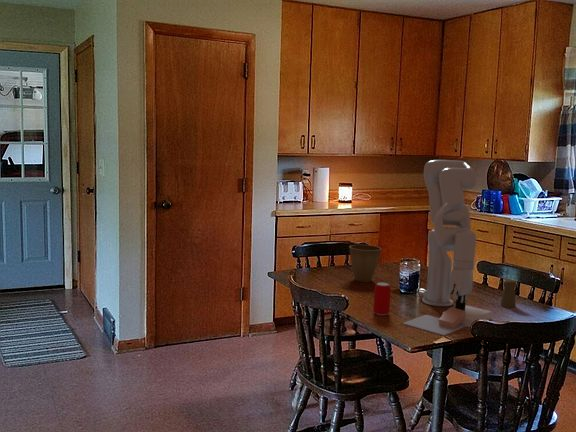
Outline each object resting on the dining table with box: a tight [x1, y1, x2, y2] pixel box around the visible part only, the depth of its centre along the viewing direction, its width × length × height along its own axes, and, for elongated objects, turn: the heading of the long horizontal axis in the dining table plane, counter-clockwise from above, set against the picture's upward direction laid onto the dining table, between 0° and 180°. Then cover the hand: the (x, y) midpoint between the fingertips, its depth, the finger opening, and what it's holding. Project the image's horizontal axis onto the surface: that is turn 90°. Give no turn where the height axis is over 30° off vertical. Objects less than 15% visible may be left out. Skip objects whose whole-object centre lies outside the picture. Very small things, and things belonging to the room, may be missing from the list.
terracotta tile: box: [438, 306, 466, 329], centre depth 225 cm, size 6×9×2 cm, turn 136°
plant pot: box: [349, 244, 382, 283], centre depth 288 cm, size 15×15×16 cm
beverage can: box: [373, 282, 392, 317], centre depth 236 cm, size 6×6×12 cm
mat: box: [402, 314, 466, 337], centre depth 225 cm, size 17×16×1 cm
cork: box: [499, 279, 517, 309], centre depth 253 cm, size 6×6×11 cm
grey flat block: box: [441, 304, 492, 328], centre depth 234 cm, size 12×16×3 cm
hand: (459, 312), depth 229 cm, fingers closed
